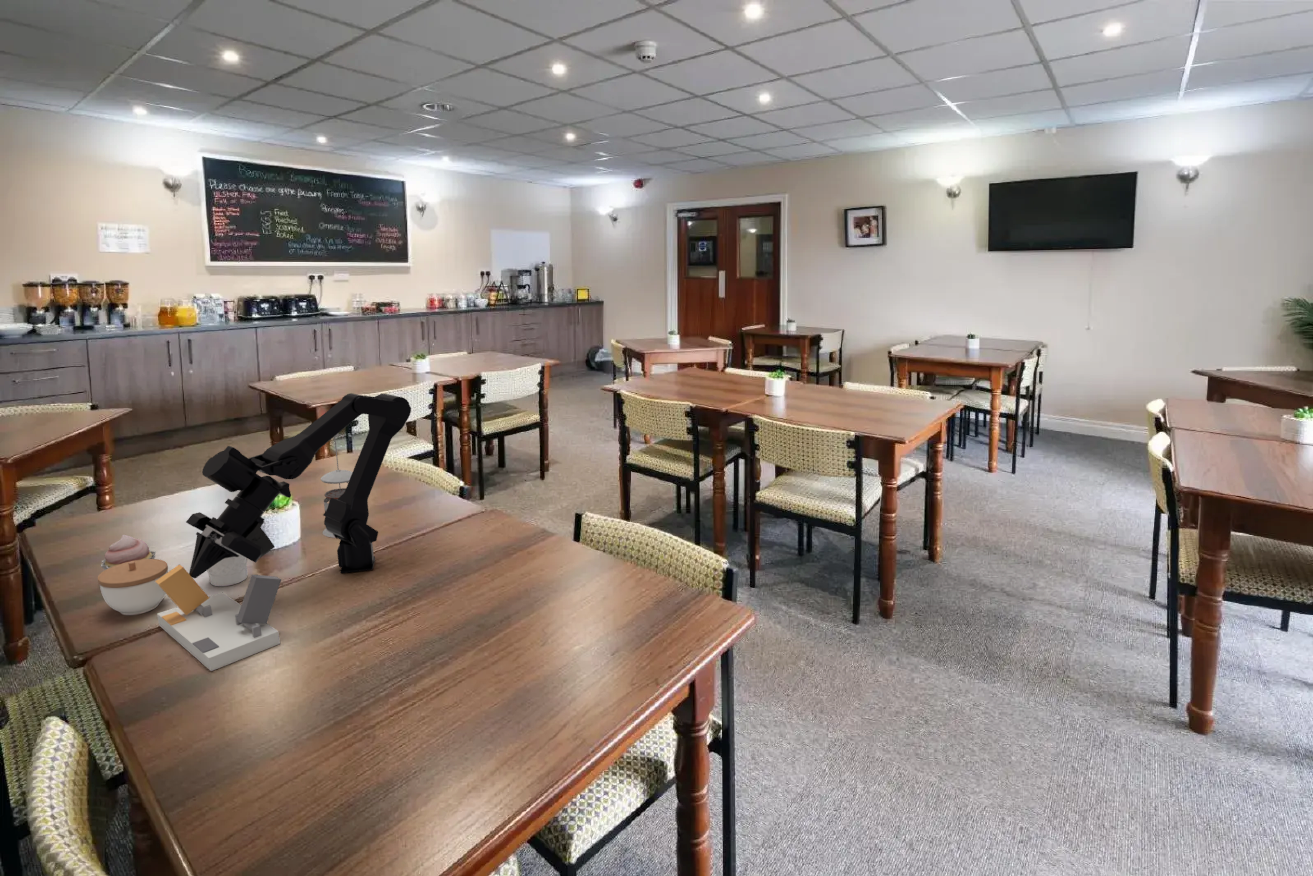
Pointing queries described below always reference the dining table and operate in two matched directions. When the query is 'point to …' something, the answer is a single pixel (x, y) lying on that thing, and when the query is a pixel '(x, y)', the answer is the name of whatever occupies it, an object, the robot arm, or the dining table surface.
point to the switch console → (217, 632)
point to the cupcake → (126, 552)
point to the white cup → (228, 571)
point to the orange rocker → (183, 590)
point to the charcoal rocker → (258, 600)
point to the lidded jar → (133, 586)
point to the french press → (335, 478)
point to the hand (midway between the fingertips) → (191, 577)
